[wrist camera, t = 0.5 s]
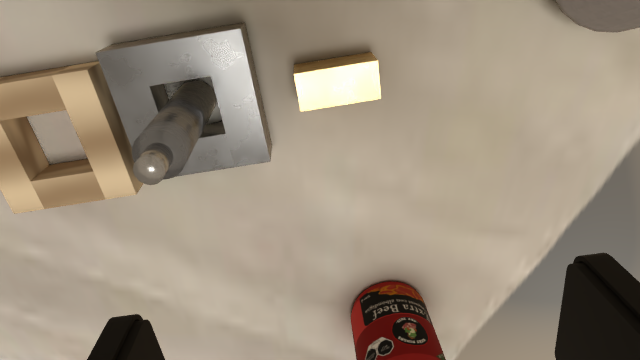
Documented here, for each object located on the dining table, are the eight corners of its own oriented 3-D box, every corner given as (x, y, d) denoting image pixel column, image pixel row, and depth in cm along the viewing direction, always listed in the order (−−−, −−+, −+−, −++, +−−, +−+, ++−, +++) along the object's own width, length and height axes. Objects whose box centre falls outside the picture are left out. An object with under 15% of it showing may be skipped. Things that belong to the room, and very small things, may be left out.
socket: (111, 44, 33) (95, 52, 30) (244, 22, 32) (240, 28, 30) (155, 165, 37) (144, 181, 35) (272, 146, 37) (270, 161, 34)
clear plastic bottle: (172, 83, 34) (110, 149, 23) (210, 76, 34) (167, 140, 23) (183, 119, 36) (130, 200, 24) (220, 113, 35) (184, 191, 24)
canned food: (431, 281, 45) (470, 374, 35) (412, 338, 48) (442, 436, 38) (357, 275, 44) (376, 367, 34) (343, 333, 47) (356, 432, 38)
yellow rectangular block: (294, 64, 34) (293, 74, 31) (371, 51, 34) (377, 60, 31) (300, 99, 35) (300, 111, 33) (374, 87, 35) (381, 98, 32)
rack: (-26, 81, 33) (-54, 92, 31) (103, 60, 33) (86, 69, 30) (33, 195, 38) (13, 213, 35) (147, 177, 38) (136, 194, 35)
